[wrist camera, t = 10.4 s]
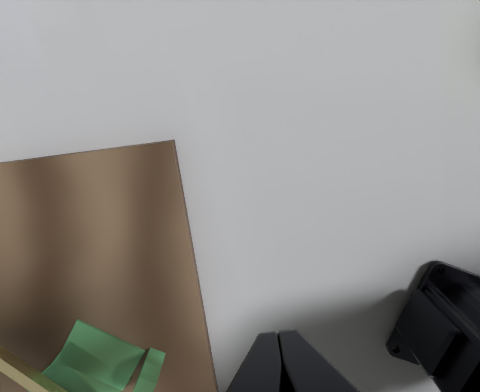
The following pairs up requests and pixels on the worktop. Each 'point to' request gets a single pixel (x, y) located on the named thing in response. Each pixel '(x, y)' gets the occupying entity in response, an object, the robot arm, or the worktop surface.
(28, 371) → the wood grain plank
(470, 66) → the worktop surface
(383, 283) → the worktop surface
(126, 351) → the tuner board
